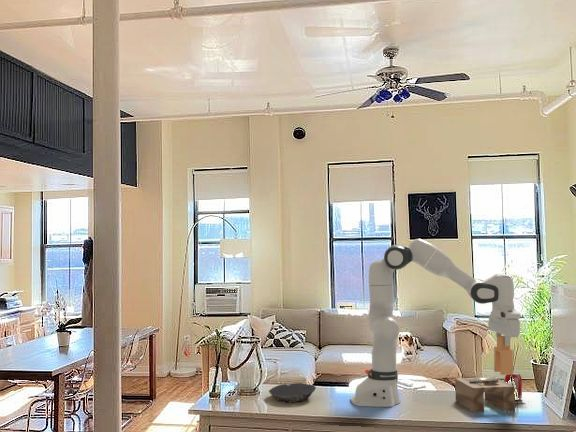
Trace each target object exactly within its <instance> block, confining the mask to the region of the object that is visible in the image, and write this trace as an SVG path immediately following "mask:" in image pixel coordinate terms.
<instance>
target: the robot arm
mask: <svg viewBox="0 0 576 432" xmlns="http://www.w3.org/2000/svg"><path fill="white" fill-rule="evenodd" d="M410 263H414V264H417V265H419V266H420V267H422V268H423V269H424V270H426V271H428V272H430V273H431V274H433V275H436V276H439V277H444V278H447V279H449V280H451V281H452V282H454V283H456V284H457V285H458V286H460V287H462V288H463V289H464V290H465V291H466V292H467V294H468V295H469V297H470V298H471V299H472V300H473V301H474V302H476V303H478V304H481V305H483V304H484V305H485V304H489V303H490V304H491V306H492V308H491V311H490V314H488V315H489V316H488V325H487V328H488V330H489V331H491V332H494V333H495V337H496V338H497V336H505V341H504V345H505V346H509V342H510V343H511V339H512V338H519V337H520V334H521V332H520V331H521V330H520V329H521V322H520V321H521V320H520V319H521V313H520V312H518V311H517V309H516V308H515V304H514V303H515V302H514V297H515V286H514V281H513V279H512V277H510V276H509V275H504V274H499V273H496V274H494V275H492V276H490V277H488V278H485V279H478V278H475V277H473V276H471V275H469V274H468V273H467V272H465V271H464V270H462V269H460V268H459V267H458V266H457V265H456V264H455V263H454V262H453V260H452V259H451V258H450V257H449V255H448V254H446V252H444V251H443V250H441V249H440V248H439V247H437V246H435V245H434V244H432V243H430V242H428V241H426V240H423V239H421V238H415V239H414V240H412V241H411V242H410V243H409V245H407V246H405V245H401V244H393V245H391V246H389V247H388V248H387V249H386V250H385V252H384V253H383V259H381V260H379V259H378V260H374V261H373V262H371V264H370V265H369V269H368V292H369V293H368V294H369V313H368V317H369V318H368V320H369V321H368V327H369V331H371V333H372V334H373V345H372V349H371V368H370V369H368V368H366V369H365V370H364V373H365V374H366V375H367V377H366V378H365V379H364V380H363V381H361V382H360V383H359V384H357V386H356V388H355V392H354V393H355V394H354V395H351V396H350V399H349V400H350V402H351V403H352V404H353V405H355V406H357V407H374V408H375V407H379V408H382V407H384V408H385V407H387V408H391V407H394V406H395V405H398V404H400V403H401V399H400V395H399V394H400V393H399V389H398V379H399V377H398V375H399V373H398V369H397V349H398V342H399V335H400V327H399V323H398V321H396V319H394V317H393V315H394V314H393V312H394V304H395V294H394V279H393V275H394V271H396V270H401V269H403V268H405V267H406V266H407V265H409V264H410Z"/></svg>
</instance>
